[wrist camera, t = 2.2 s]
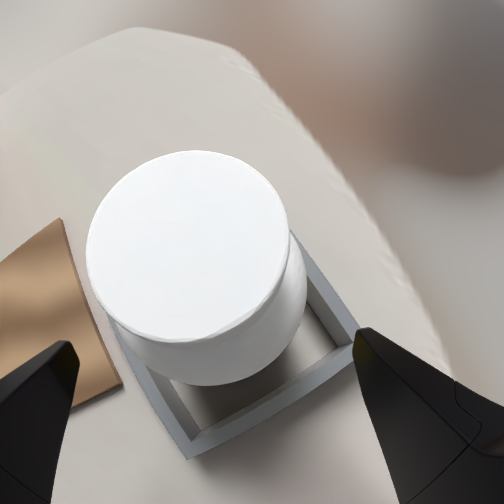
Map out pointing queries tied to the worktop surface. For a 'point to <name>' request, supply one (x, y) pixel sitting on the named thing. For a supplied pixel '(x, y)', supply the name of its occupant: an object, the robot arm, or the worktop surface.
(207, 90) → the worktop surface
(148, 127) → the worktop surface
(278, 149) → the worktop surface
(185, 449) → the bin
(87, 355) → the tan cardboard sheet
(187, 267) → the supplement bottle
